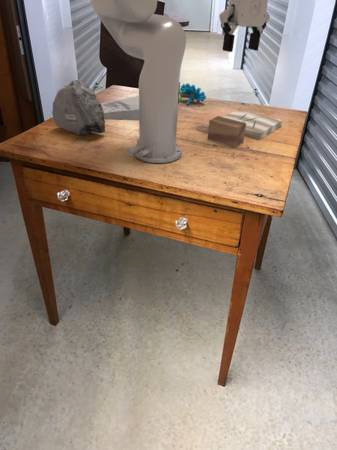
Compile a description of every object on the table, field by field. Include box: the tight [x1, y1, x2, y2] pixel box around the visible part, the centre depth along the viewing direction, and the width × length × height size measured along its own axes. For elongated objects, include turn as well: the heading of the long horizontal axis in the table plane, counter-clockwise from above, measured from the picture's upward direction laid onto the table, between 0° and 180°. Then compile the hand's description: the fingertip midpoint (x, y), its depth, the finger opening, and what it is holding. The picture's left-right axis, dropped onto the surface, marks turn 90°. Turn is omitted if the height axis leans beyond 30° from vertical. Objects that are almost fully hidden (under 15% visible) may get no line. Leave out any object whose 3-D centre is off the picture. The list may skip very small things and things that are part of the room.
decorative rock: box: [51, 79, 106, 136], centre depth 100 cm, size 16×7×15 cm, turn 58°
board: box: [222, 109, 283, 141], centre depth 114 cm, size 16×16×2 cm
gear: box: [179, 83, 207, 106], centre depth 132 cm, size 11×6×10 cm
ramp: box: [100, 95, 139, 121], centre depth 119 cm, size 28×16×5 cm, turn 71°
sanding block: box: [206, 115, 246, 149], centre depth 102 cm, size 5×9×6 cm, turn 53°
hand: (240, 50), depth 97 cm, fingers open, 9 cm apart
